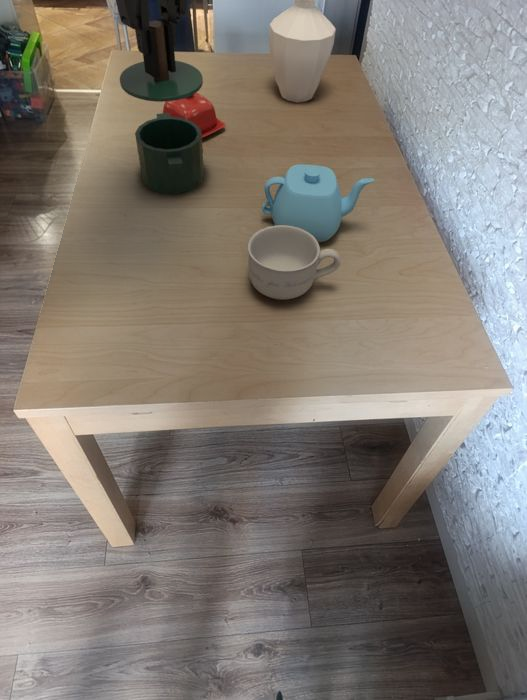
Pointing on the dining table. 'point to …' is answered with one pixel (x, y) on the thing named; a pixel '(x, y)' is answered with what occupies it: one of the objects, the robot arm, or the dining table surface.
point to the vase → (300, 49)
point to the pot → (170, 154)
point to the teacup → (286, 261)
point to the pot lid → (161, 76)
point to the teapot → (311, 200)
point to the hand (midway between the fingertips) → (160, 71)
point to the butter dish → (195, 113)
